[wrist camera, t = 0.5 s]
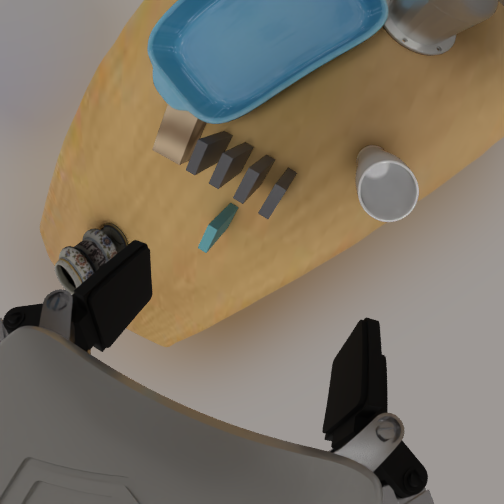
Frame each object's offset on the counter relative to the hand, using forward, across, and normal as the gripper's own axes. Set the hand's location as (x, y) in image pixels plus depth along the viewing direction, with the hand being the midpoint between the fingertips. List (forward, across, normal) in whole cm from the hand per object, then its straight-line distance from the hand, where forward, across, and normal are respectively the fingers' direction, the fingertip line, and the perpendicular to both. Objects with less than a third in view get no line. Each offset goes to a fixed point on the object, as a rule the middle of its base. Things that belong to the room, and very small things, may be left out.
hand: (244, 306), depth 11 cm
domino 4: (+34, +3, +5) cm, 35 cm away
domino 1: (+34, +15, +2) cm, 37 cm away
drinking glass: (+34, -9, -3) cm, 35 cm away
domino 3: (+34, +7, +4) cm, 35 cm away
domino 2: (+34, +11, +3) cm, 36 cm away
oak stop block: (+34, +22, 0) cm, 41 cm away
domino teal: (+34, +12, +14) cm, 39 cm away
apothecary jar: (+36, +42, +30) cm, 63 cm away
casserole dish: (+34, +11, -20) cm, 41 cm away
